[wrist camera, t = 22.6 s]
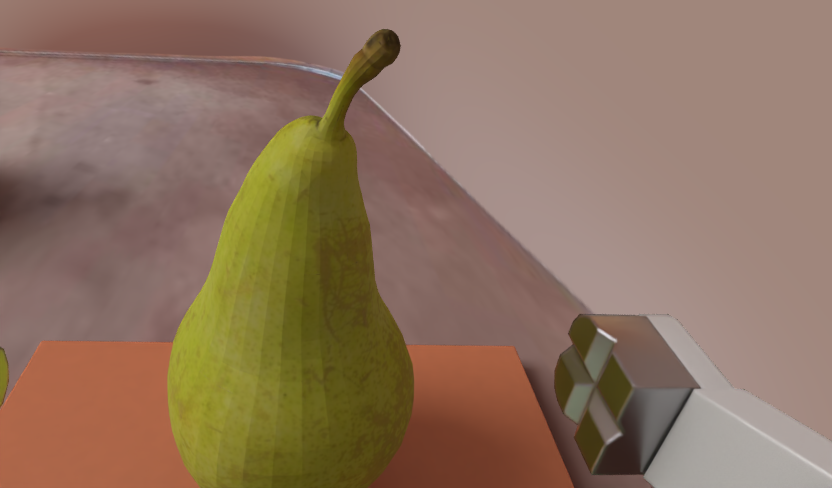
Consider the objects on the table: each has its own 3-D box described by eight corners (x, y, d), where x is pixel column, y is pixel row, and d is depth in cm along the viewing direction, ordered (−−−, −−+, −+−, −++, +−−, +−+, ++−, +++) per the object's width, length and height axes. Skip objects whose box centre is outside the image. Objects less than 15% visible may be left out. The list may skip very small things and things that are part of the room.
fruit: (245, 369, 18) (240, -44, 12) (418, 425, 17) (513, 12, 11) (119, 532, 13) (-3, -24, 7) (351, 622, 12) (453, 80, 6)
